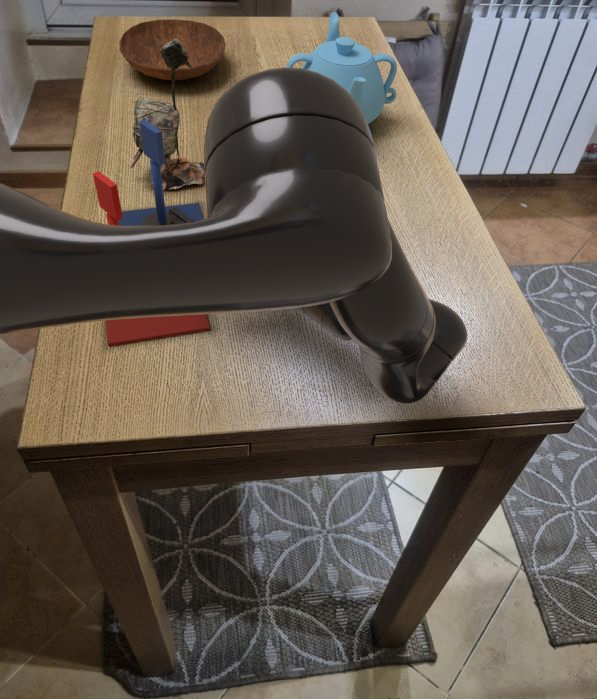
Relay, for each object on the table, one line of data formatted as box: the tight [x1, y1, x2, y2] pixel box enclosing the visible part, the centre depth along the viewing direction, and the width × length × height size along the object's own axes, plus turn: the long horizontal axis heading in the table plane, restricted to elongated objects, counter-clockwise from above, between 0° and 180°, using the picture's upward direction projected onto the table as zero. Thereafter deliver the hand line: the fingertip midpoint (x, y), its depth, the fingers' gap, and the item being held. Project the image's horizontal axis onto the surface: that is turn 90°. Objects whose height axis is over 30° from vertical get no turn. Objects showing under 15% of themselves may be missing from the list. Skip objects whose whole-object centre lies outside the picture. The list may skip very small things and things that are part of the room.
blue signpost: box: [139, 120, 170, 226], centre depth 79 cm, size 6×6×16 cm
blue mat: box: [118, 202, 204, 226], centre depth 86 cm, size 12×12×1 cm
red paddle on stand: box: [92, 170, 123, 226], centre depth 72 cm, size 6×6×16 cm
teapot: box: [286, 11, 398, 125], centre depth 104 cm, size 16×20×14 cm
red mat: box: [104, 314, 211, 347], centre depth 77 cm, size 12×12×1 cm
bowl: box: [118, 19, 227, 81], centre depth 117 cm, size 20×22×5 cm
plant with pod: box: [129, 39, 205, 191], centre depth 88 cm, size 8×11×20 cm
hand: (199, 200), depth 74 cm, fingers open, 8 cm apart
